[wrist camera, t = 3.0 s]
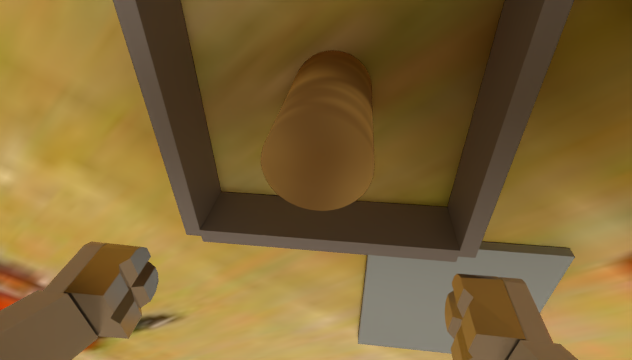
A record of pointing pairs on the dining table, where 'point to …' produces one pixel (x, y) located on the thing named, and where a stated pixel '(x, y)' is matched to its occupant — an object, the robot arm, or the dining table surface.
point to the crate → (358, 217)
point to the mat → (444, 291)
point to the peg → (323, 135)
